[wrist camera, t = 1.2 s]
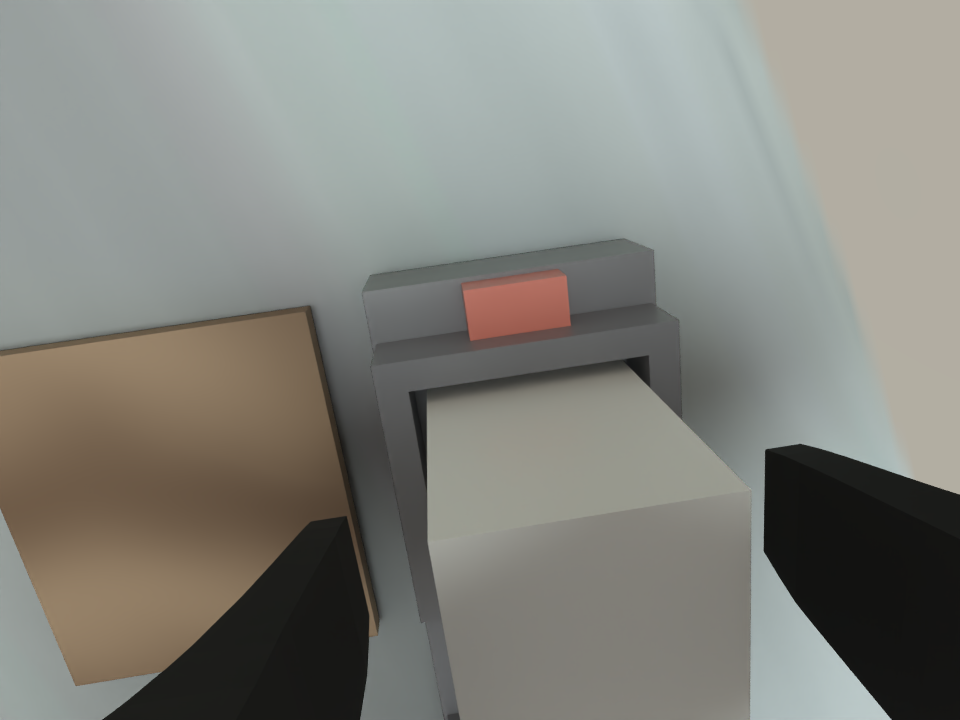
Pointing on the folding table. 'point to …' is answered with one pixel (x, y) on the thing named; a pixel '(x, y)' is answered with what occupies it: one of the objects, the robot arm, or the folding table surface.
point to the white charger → (586, 552)
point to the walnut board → (165, 478)
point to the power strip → (502, 358)
